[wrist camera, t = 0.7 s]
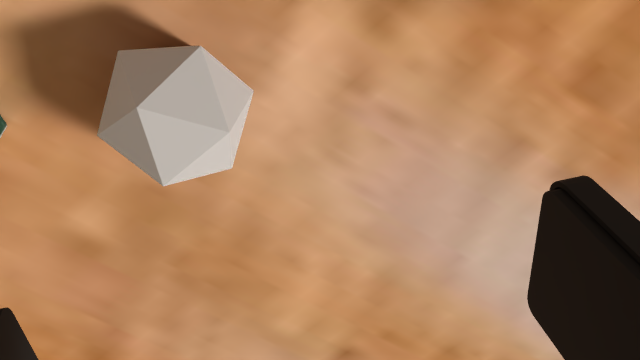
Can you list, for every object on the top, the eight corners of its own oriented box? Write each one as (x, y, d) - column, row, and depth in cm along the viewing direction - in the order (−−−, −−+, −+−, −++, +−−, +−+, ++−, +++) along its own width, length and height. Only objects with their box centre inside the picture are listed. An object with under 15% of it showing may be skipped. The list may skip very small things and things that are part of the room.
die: (93, 25, 36) (53, 168, 33) (201, -15, 32) (169, 144, 28) (183, 90, 43) (158, 216, 39) (282, 64, 39) (265, 202, 35)
